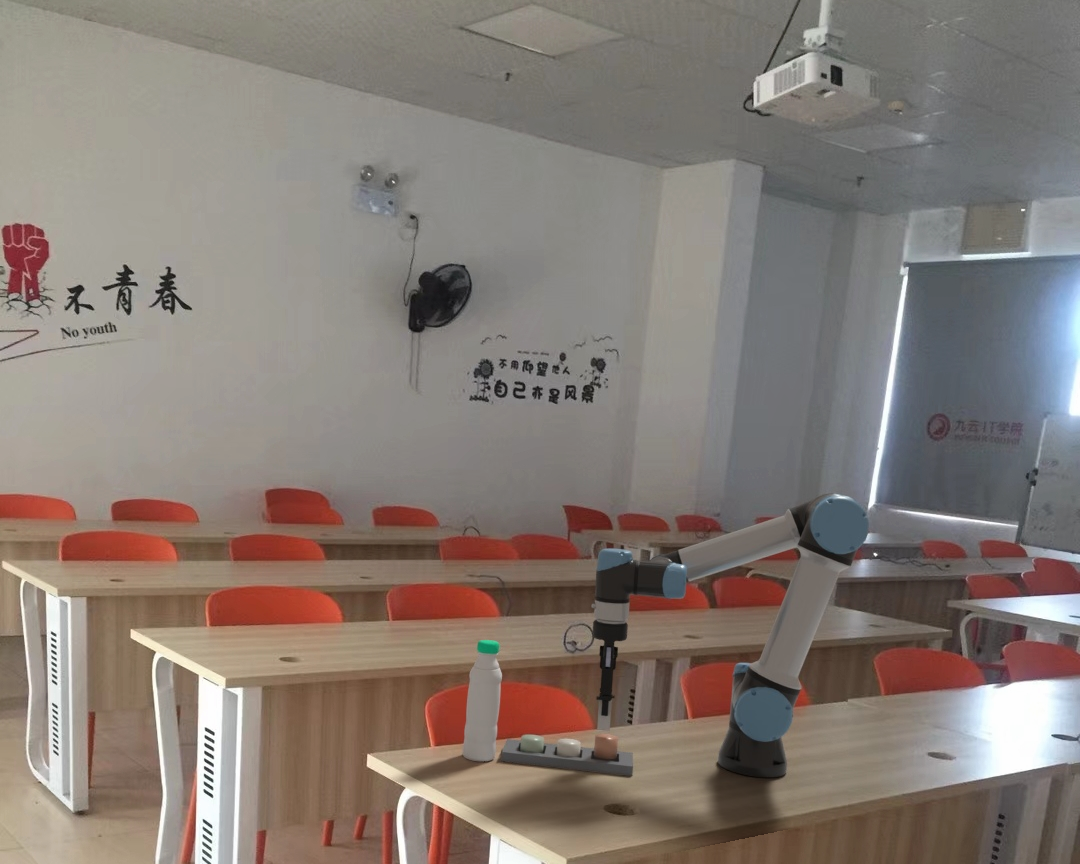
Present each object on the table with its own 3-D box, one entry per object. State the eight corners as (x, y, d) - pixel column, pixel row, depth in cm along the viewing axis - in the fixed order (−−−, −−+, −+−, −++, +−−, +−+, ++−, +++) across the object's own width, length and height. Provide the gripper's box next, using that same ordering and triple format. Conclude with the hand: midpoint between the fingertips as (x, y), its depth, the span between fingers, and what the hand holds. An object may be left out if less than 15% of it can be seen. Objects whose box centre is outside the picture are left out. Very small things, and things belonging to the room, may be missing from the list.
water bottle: (490, 764, 223) (501, 646, 223) (458, 759, 225) (468, 642, 225) (498, 755, 230) (508, 640, 230) (466, 750, 232) (476, 636, 232)
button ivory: (579, 758, 232) (581, 740, 232) (578, 765, 227) (580, 746, 227) (556, 755, 233) (558, 737, 233) (555, 762, 228) (557, 744, 228)
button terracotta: (616, 753, 232) (618, 735, 232) (616, 760, 227) (618, 741, 227) (594, 750, 232) (595, 732, 232) (593, 757, 227) (595, 739, 227)
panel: (631, 761, 234) (632, 752, 234) (632, 775, 224) (633, 766, 224) (506, 747, 236) (507, 738, 236) (501, 761, 226) (501, 751, 226)
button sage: (543, 754, 233) (544, 736, 233) (541, 761, 228) (543, 742, 228) (520, 751, 233) (522, 733, 233) (518, 758, 228) (520, 739, 228)
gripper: (594, 614, 236) (587, 720, 236) (592, 624, 223) (585, 736, 223) (627, 617, 236) (620, 723, 236) (628, 627, 223) (620, 739, 223)
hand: (603, 729), depth 229 cm, fingers closed
